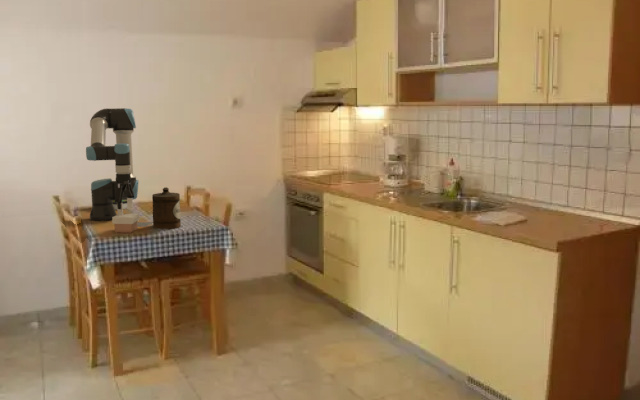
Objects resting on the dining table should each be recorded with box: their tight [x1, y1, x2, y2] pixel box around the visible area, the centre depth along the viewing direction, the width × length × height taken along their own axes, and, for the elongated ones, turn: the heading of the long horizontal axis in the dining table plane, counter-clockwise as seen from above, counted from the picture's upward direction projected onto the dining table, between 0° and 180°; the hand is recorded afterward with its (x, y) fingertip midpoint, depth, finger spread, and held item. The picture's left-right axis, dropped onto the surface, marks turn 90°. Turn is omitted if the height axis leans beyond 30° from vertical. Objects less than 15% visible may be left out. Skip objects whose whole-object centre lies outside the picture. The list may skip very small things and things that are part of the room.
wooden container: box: [152, 186, 182, 230], centre depth 330 cm, size 15×15×22 cm
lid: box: [111, 213, 140, 225], centre depth 319 cm, size 10×10×4 cm
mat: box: [137, 221, 153, 228], centre depth 336 cm, size 12×12×1 cm
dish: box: [113, 221, 139, 234], centre depth 319 cm, size 9×9×5 cm
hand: (125, 212), depth 319 cm, fingers open, 13 cm apart
